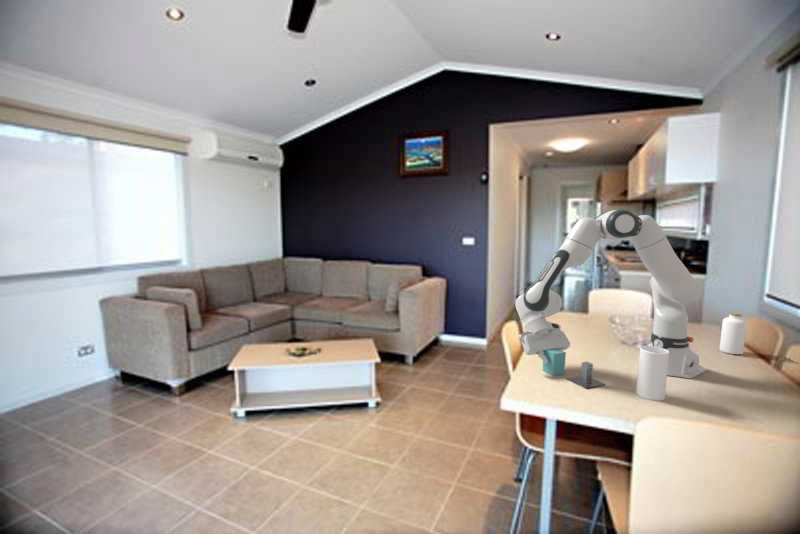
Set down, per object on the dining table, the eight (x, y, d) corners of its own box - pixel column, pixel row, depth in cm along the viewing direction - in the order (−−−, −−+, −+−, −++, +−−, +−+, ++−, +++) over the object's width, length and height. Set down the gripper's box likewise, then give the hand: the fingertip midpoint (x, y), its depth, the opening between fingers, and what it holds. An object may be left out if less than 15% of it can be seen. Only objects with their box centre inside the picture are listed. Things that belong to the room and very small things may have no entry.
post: (585, 376, 154) (586, 357, 153) (605, 385, 146) (606, 365, 145) (567, 379, 151) (568, 360, 150) (586, 389, 142) (587, 369, 141)
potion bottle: (723, 354, 181) (727, 314, 179) (716, 348, 189) (720, 310, 187) (746, 356, 178) (751, 316, 176) (738, 351, 186) (743, 312, 184)
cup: (669, 401, 133) (673, 354, 131) (641, 399, 135) (645, 352, 133) (658, 391, 141) (662, 346, 139) (632, 389, 143) (636, 344, 141)
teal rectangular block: (553, 368, 161) (555, 347, 160) (564, 373, 156) (565, 352, 155) (542, 370, 159) (543, 349, 158) (552, 375, 154) (554, 353, 153)
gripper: (521, 328, 158) (537, 361, 150) (562, 324, 166) (580, 354, 158) (514, 336, 163) (529, 368, 155) (554, 331, 170) (570, 362, 163)
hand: (555, 361), depth 156 cm, fingers closed on teal rectangular block, 6 cm apart
